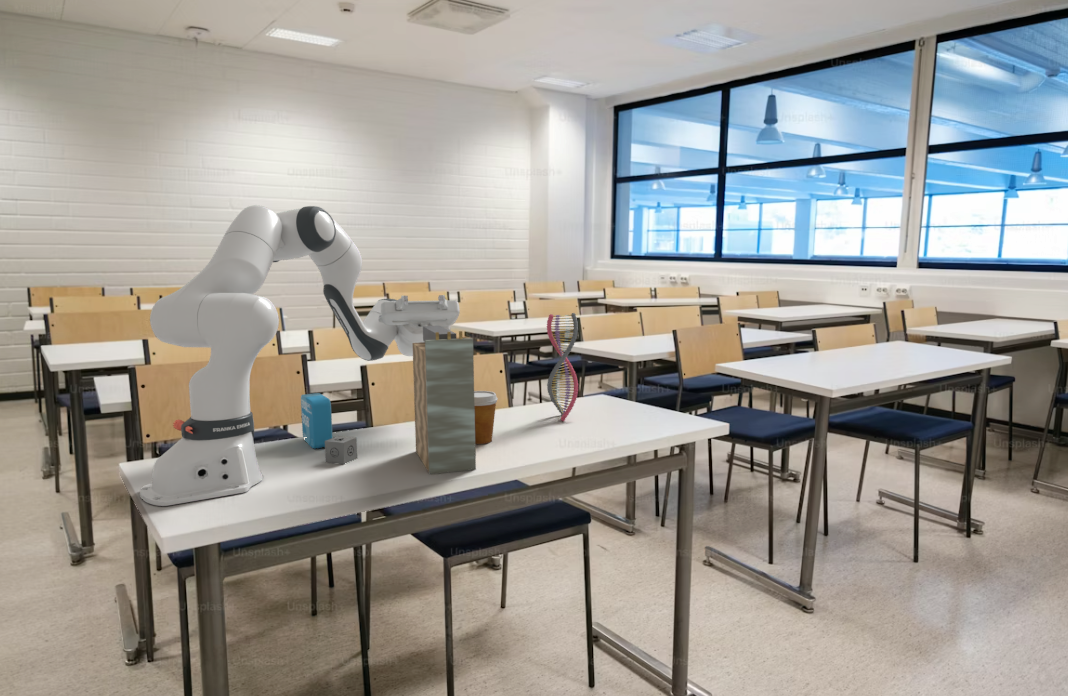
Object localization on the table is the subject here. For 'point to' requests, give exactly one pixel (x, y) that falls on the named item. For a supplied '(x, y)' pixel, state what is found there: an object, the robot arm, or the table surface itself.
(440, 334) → the grey rectangular bar
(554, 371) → the dna model
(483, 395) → the disposable coffee cup
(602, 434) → the table surface
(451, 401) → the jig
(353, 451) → the dice cube
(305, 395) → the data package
